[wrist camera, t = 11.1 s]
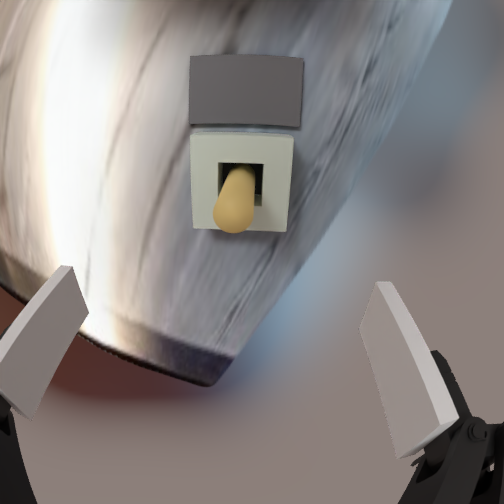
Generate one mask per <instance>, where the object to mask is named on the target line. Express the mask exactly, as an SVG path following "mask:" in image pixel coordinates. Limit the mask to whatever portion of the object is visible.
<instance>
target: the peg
mask: <svg viewBox="0 0 504 504" xmlns="http://www.w3.org/2000/svg"><path fill="white" fill-rule="evenodd" d="M254 193H255V172H254V170H253V168H252V167H251V166H250V165H248V164H245V163H239V164H236V165H234V166H233V167H232V168H231V170H230V172H229V174H228V176H227V178H226V181H225V183H224V185H223V187H222V190H221V192H220V194H219V197H218V199H217V201H216V204H215V206H214V209H213V219H214V222H215V223H216V225H217V226H218V227H219V228H220V229H221V230H223V231H225V232H228V233H239V232H242V231H244V230H246V229H247V228H248V227H249V226H250V225H251V223H252V221H253V214H254Z"/></svg>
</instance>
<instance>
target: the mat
mask: <svg viewBox="0 0 504 504" xmlns="http://www.w3.org/2000/svg"><path fill="white" fill-rule="evenodd" d="M302 76H303V58H294V57H284V56H270V55H202V56H190V80H189V124H206V123H238V124H266V125H282V126H295V127H300V113H301V96H302Z"/></svg>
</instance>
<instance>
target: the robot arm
mask: <svg viewBox="0 0 504 504" xmlns="http://www.w3.org/2000/svg"><path fill="white" fill-rule="evenodd" d="M88 314H89V311H88V309H87V306H86V304H85V301H84V298H83V296H82V293H81V290H80V288H79V285H78V282H77V279H76V276H75V273H74V270H73V267H72V266H60V267H59V268H58V269H57V270H56V271H55V272H54V273H53V275H52V276H51V277H50V278H49V279H48V280H47V281H46V282H45V284H44V285H43V286H42V287H41V288H40V289H39V291H38V292H37V293H36V294H35V295H34V297H33V298H32V299H31V300H30V302H29V303H28V304H27V305H26V307H25V308H24V309H23V310H22V312H21V313H20V314H19V316H18V317H17V318H16V319H15V321H14V322H13V323H12V324H10V325H9V326H8V327H7V328H6V329H5V330H4V331H3V333H2V334H1V336H0V504H37V501H36V499H35V496H34V494H33V491H32V488H31V485H30V482H29V479H28V476H27V473H26V470H25V466H24V463H23V459H22V455H21V452H20V447H19V443H18V438H17V433H16V429H15V423H14V417H13V414H12V412H11V411H10V408H11V406H12V407H13V408H14V409H15V410H16V411H17V412H18V413H19V414H20V415H22V416H23V417H25V418H27V419H29V420H31V421H32V418H33V416H34V414H35V412H36V409H37V407H38V405H39V403H40V401H41V399H42V397H43V394H44V392H45V390H46V388H47V386H48V384H49V382H50V380H51V378H52V376H53V374H54V373H55V371H56V369H57V367H58V365H59V363H60V361H61V359H62V358H63V356H64V354H65V352H66V350H67V349H68V347H69V345H70V343H71V342H72V340H73V338H74V337H75V335H76V333H77V332H78V330H79V328H80V327H81V325H82V323H83V322H84V320H85V318H86V317H87V315H88ZM359 332H360V335H361V338H362V341H363V344H364V346H365V350H366V353H367V355H368V359H369V362H370V365H371V368H372V371H373V374H374V377H375V381H376V384H377V387H378V390H379V394H380V397H381V401H382V404H383V408H384V411H385V415H386V418H387V422H388V426H389V430H390V434H391V438H392V441H393V446H394V450H395V454H396V458H397V459H401V458H404V457H408V456H411V455H414V454H416V453H417V452H419V451H420V450H421V449H423V448H424V451H425V454H424V455H422V456H421V457H419V458H418V459H416V460H415V461H414V462H413V463H412V464H411V466H414V465H416V464H417V463H419V464H418V466H417V467H416V471H415V472H414V475H413V476H412V478H411V481H410V482H409V484H408V486H407V488H406V490H405V492H404V494H403V495H402V497H401V499H400V501H399V502H398V504H504V422H503V423H502V424H486V423H485V421H484V420H482V419H481V418H479V417H473V416H472V415H471V413H470V411H469V408H468V406H467V403H466V402H465V399H464V397H463V394H462V392H461V390H460V388H459V385H458V383H457V382H456V381H455V380H456V379H455V377H454V375H453V373H451V369H450V367H449V365H448V363H447V361H446V359H445V358H444V357H443V356H442V355H441V354H440V353H439V352H438V351H437V350H435V351H429V349H428V347H427V345H426V343H425V341H424V339H423V337H422V335H421V333H420V331H419V330H418V328H417V326H416V324H415V322H414V321H413V319H412V317H411V315H410V313H409V311H408V309H407V308H406V306H405V304H404V303H403V301H402V299H401V297H400V296H399V294H398V292H397V291H396V289H395V287H394V286H393V284H392V282H380V281H379V282H377V281H376V282H375V285H374V288H373V291H372V294H371V296H370V299H369V302H368V305H367V308H366V310H365V313H364V316H363V319H362V321H361V324H360V326H359ZM493 463H494V470H492V471H490V465H492V464H493Z"/></svg>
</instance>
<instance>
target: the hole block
mask: <svg viewBox="0 0 504 504" xmlns="http://www.w3.org/2000/svg"><path fill="white" fill-rule="evenodd" d="M293 145H294V138H293V137H292V136H291V135H288V134H273V133H252V132H198V133H195V134H193V135H190V161H191V194H192V216H193V228H197V229H220V228H219V227H218V226H217V225H216V223H215V222H214V219H213V209H214V206H215V204H216V201H217V199H218V197H219V194H220V192H221V190H222V181H223V162H227V163H259V164H263V170H262V190H261V195H254V214H253V221H252V223H251V225H250V226H249V227H248V228H247V229H246V230H253V231H275V232H286V227H287V217H288V206H289V195H290V184H291V171H292V159H293Z"/></svg>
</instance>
